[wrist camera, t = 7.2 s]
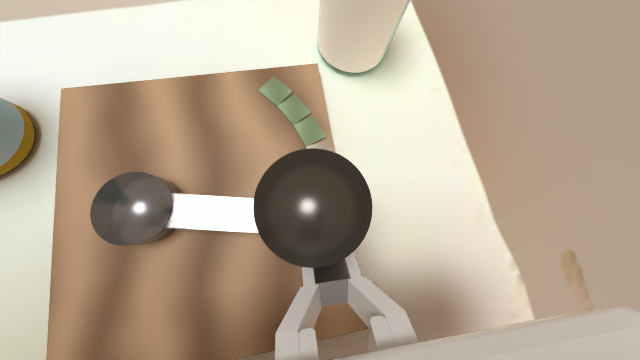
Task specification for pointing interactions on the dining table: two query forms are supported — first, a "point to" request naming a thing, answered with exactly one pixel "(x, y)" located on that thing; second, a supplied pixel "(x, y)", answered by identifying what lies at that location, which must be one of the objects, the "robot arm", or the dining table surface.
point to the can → (357, 31)
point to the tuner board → (182, 244)
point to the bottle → (14, 136)
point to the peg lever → (249, 209)
